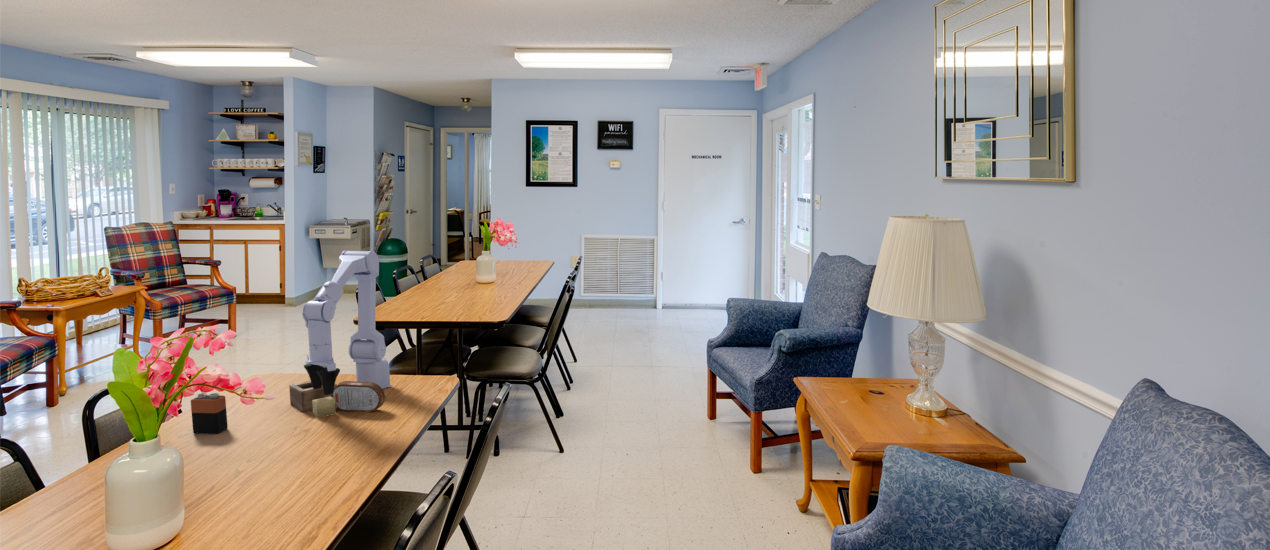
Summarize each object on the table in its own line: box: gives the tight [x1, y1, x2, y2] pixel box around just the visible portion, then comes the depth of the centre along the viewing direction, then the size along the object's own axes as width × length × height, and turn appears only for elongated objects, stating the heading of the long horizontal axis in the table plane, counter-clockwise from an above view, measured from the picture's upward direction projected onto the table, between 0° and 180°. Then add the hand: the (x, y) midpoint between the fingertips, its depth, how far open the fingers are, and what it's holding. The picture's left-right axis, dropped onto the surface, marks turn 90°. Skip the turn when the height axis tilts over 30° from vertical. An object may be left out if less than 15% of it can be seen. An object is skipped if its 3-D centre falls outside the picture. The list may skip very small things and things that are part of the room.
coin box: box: [288, 380, 338, 413], centre depth 200 cm, size 10×9×6 cm
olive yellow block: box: [312, 396, 337, 419], centre depth 192 cm, size 5×3×4 cm, turn 136°
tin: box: [331, 380, 386, 412], centre depth 195 cm, size 15×3×8 cm, turn 84°
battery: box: [190, 392, 228, 435], centre depth 178 cm, size 4×7×10 cm, turn 88°
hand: (322, 391), depth 191 cm, fingers open, 7 cm apart
